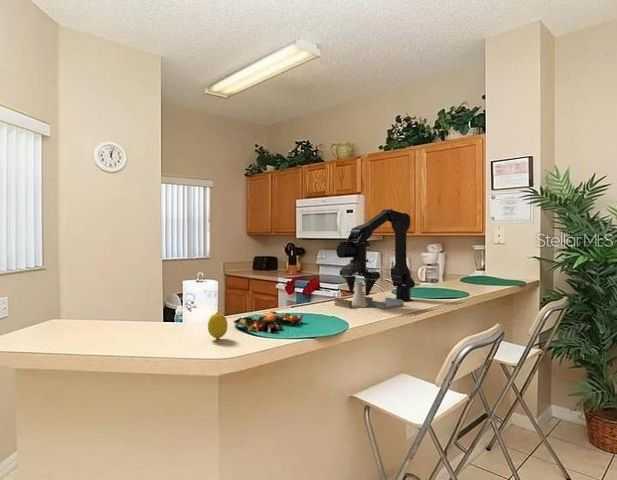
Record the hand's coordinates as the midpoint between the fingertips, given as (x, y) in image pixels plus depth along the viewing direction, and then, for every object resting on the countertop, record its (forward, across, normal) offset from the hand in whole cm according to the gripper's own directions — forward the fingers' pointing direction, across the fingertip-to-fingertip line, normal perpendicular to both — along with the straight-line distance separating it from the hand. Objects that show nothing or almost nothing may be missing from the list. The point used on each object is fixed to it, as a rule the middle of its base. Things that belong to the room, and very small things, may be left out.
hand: (359, 294), depth 169 cm
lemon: (+5, +12, -70) cm, 71 cm away
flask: (+5, 0, 0) cm, 5 cm away
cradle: (+5, +6, +9) cm, 12 cm away
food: (+6, +5, -48) cm, 49 cm away
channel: (+5, -3, 0) cm, 6 cm away
